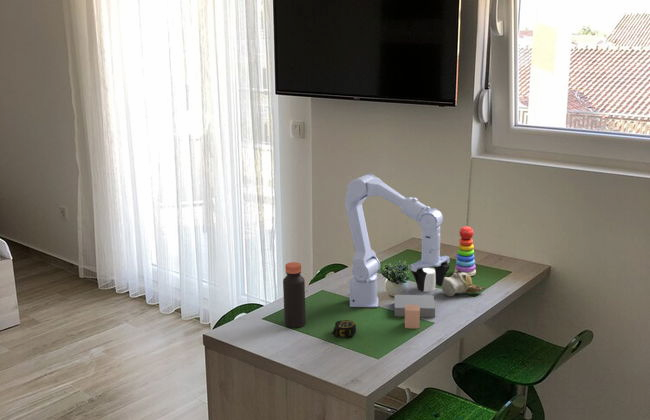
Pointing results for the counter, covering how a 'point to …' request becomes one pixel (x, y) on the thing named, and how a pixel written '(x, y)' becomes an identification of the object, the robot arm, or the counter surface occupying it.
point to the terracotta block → (412, 316)
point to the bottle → (294, 296)
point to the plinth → (422, 300)
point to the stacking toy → (466, 252)
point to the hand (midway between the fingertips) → (429, 287)
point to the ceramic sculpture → (459, 284)
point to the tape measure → (344, 328)
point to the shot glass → (429, 280)
